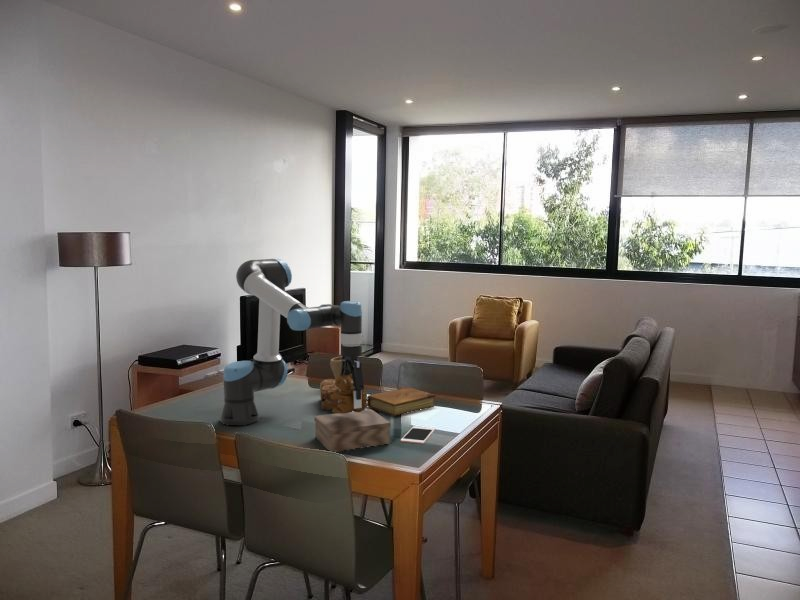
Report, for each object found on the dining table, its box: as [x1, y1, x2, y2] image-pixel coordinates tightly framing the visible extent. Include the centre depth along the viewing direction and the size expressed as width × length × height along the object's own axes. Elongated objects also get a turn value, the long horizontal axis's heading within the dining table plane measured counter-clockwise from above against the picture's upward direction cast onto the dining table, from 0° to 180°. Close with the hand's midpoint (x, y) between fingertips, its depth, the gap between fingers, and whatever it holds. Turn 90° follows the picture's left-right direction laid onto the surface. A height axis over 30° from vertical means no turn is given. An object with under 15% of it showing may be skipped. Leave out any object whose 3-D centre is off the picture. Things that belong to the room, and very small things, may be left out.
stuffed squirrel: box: [331, 374, 368, 414], centre depth 231 cm, size 10×14×13 cm
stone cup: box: [329, 355, 354, 387], centre depth 310 cm, size 15×12×15 cm
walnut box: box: [313, 408, 391, 453], centre depth 232 cm, size 23×19×8 cm
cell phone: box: [400, 425, 436, 445], centre depth 239 cm, size 9×18×1 cm, turn 163°
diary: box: [367, 386, 436, 417], centre depth 277 cm, size 23×19×6 cm
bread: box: [319, 378, 339, 411], centre depth 280 cm, size 19×11×10 cm, turn 7°
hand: (351, 403), depth 231 cm, fingers closed on stuffed squirrel, 12 cm apart
